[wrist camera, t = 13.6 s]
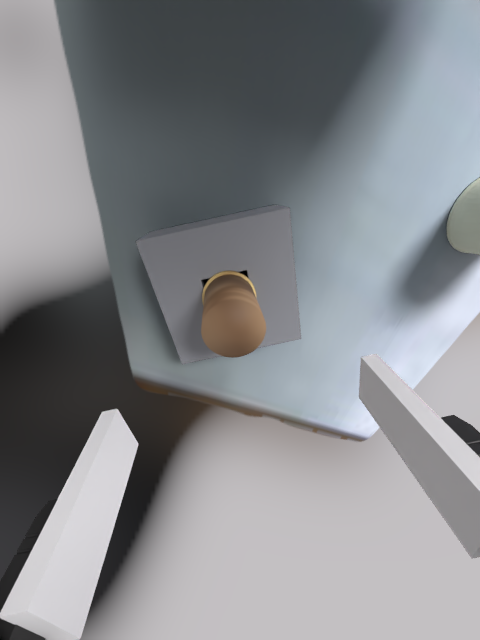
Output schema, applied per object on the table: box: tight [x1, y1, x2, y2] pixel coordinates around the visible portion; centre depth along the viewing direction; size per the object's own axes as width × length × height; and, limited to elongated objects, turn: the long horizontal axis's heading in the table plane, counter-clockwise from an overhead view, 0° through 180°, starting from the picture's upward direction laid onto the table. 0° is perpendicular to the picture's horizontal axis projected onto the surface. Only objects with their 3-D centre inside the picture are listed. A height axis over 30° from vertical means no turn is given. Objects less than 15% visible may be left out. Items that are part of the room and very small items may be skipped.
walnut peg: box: [201, 271, 266, 357], centre depth 25 cm, size 5×5×13 cm
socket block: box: [135, 205, 301, 364], centre depth 28 cm, size 14×14×6 cm
